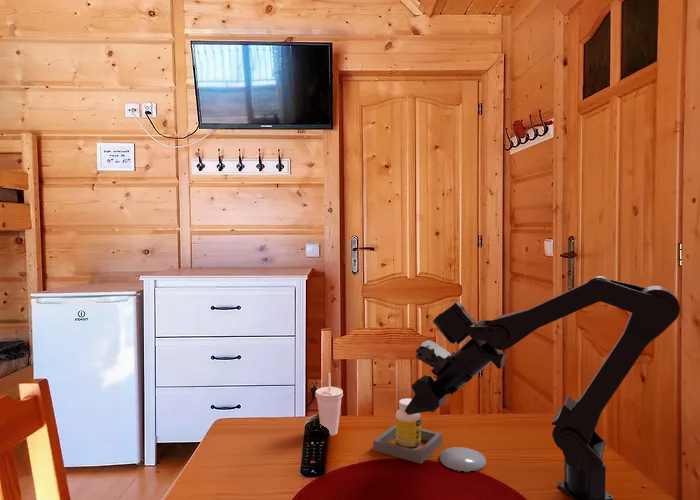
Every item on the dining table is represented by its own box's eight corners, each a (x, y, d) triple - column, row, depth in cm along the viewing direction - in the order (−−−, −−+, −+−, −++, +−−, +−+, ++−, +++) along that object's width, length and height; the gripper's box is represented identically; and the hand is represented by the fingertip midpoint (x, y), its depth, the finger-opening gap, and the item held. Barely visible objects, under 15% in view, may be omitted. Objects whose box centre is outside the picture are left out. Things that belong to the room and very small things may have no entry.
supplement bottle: (420, 453, 96) (420, 407, 96) (394, 451, 97) (394, 405, 97) (421, 441, 101) (421, 397, 101) (396, 439, 102) (396, 396, 102)
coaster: (494, 469, 89) (494, 466, 89) (450, 474, 87) (450, 471, 87) (473, 448, 98) (473, 445, 98) (433, 452, 96) (433, 449, 96)
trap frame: (442, 442, 101) (442, 433, 101) (421, 463, 91) (421, 454, 91) (396, 431, 107) (396, 422, 107) (373, 450, 97) (373, 440, 97)
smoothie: (318, 440, 102) (318, 377, 102) (313, 428, 109) (312, 369, 108) (346, 436, 104) (346, 375, 104) (339, 425, 110) (339, 367, 110)
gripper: (456, 322, 102) (410, 363, 108) (421, 339, 86) (370, 386, 93) (491, 363, 98) (441, 403, 105) (462, 388, 82) (405, 434, 89)
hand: (415, 405), depth 98 cm, fingers open, 9 cm apart
